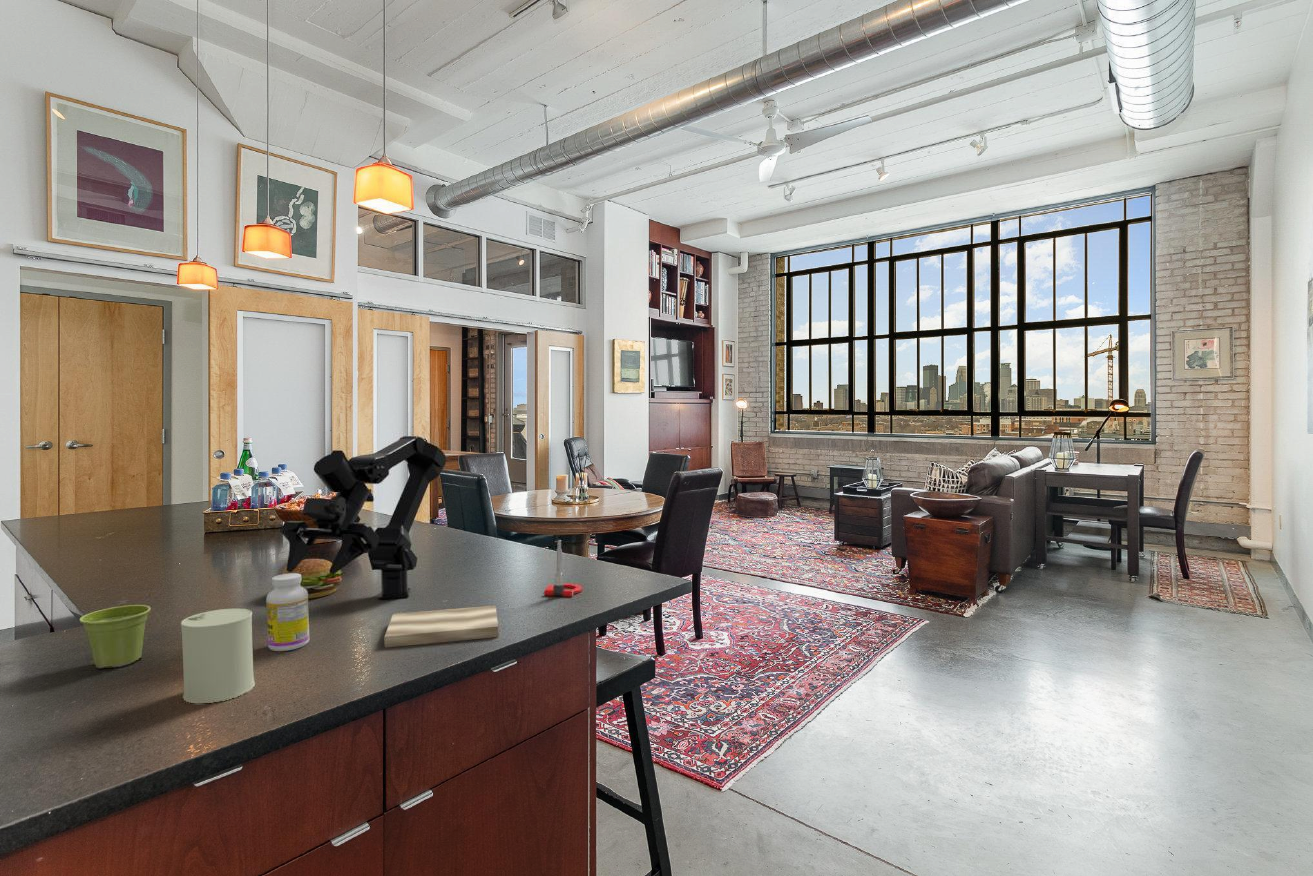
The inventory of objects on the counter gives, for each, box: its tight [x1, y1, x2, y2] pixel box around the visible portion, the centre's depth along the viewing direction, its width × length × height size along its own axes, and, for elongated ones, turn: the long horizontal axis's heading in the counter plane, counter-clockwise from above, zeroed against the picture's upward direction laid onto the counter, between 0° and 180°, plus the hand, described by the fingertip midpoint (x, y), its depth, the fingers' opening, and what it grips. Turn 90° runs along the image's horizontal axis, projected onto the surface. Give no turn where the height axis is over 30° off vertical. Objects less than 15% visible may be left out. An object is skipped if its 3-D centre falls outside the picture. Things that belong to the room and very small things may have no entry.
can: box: [180, 608, 256, 704], centre depth 102 cm, size 9×9×12 cm
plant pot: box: [79, 604, 152, 666], centre depth 114 cm, size 9×9×9 cm
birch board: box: [383, 605, 499, 648], centre depth 130 cm, size 14×20×2 cm
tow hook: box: [543, 539, 583, 598], centre depth 157 cm, size 8×13×9 cm
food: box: [272, 558, 344, 600], centre depth 157 cm, size 14×14×8 cm
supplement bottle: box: [265, 573, 310, 652], centre depth 122 cm, size 7×7×13 cm
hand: (309, 572), depth 127 cm, fingers open, 9 cm apart
